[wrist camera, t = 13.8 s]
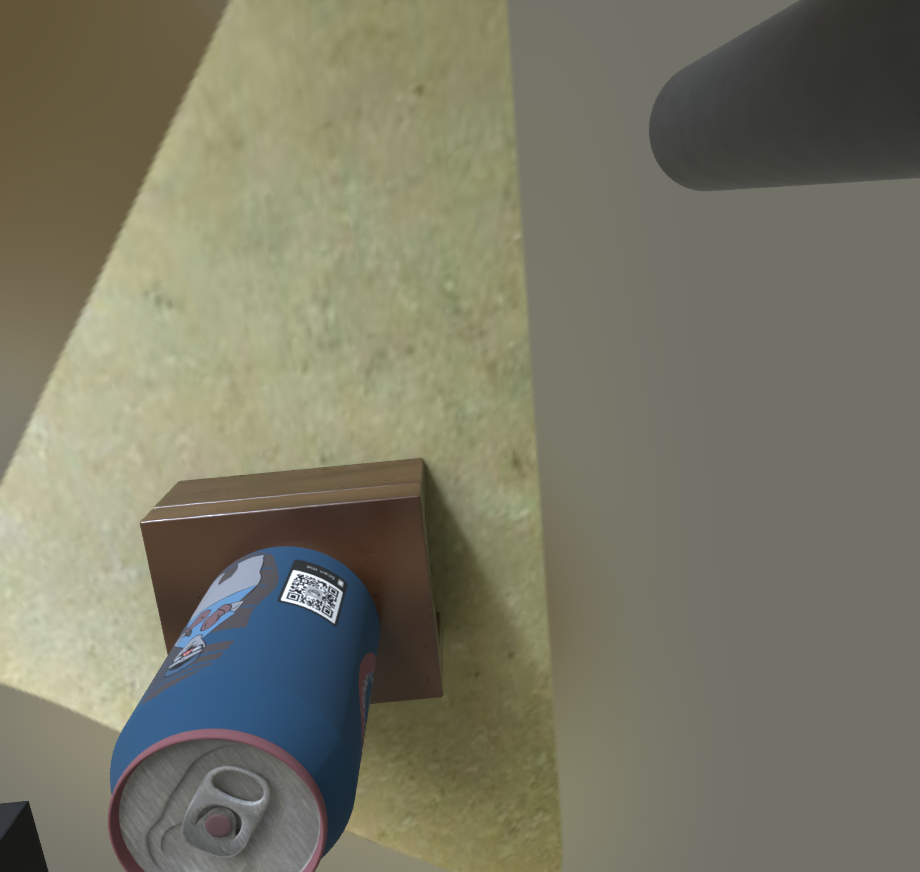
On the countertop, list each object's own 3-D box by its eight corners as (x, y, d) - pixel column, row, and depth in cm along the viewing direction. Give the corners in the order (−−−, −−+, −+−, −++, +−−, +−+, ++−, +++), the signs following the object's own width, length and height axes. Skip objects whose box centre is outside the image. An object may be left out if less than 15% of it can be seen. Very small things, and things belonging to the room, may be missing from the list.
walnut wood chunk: (178, 480, 37) (138, 521, 32) (423, 457, 37) (420, 495, 32) (213, 659, 39) (181, 722, 34) (443, 637, 39) (443, 698, 34)
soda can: (337, 714, 34) (283, 970, 23) (182, 647, 33) (44, 879, 22) (411, 578, 33) (394, 780, 21) (251, 504, 32) (141, 673, 20)
